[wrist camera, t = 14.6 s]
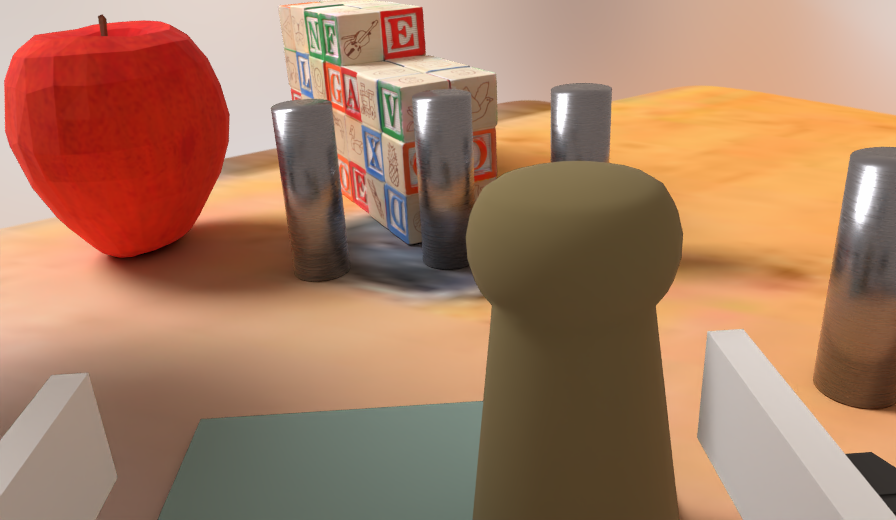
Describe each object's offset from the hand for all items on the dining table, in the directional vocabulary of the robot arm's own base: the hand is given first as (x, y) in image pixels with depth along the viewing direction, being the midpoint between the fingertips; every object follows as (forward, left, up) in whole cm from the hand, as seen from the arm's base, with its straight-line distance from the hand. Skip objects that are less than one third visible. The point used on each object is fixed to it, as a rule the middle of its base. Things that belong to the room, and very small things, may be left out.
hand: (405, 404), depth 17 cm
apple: (-16, +29, -8) cm, 35 cm away
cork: (+4, +3, -7) cm, 9 cm away
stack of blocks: (-2, +38, -8) cm, 39 cm away
